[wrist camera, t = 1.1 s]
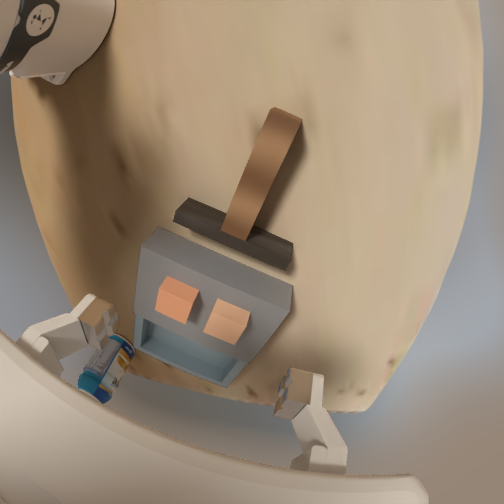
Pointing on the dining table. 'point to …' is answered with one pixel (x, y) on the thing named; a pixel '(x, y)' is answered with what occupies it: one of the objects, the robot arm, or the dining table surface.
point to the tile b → (226, 322)
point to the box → (185, 353)
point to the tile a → (176, 299)
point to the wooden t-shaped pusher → (249, 197)
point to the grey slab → (210, 292)
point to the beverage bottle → (106, 369)
